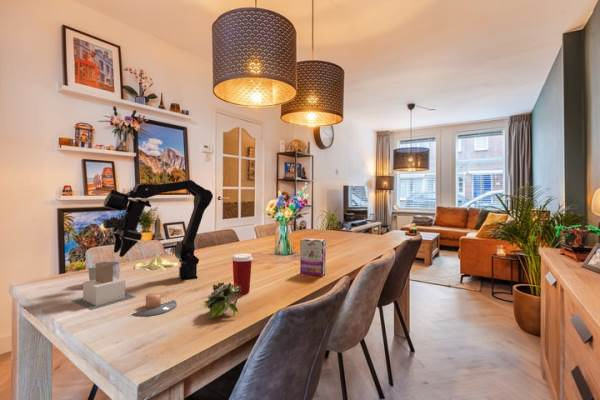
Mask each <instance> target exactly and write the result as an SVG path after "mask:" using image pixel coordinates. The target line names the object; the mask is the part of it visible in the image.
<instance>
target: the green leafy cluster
mask: <svg viewBox="0 0 600 400" xmlns="http://www.w3.org/2000/svg"><path fill="white" fill-rule="evenodd" d="M235 289H236V290H234V283H233V284H232V282H229V283H228V284H227V283H226V284H225V282H217V284H213V285H212V290H213V292H211V293H210V294H209V295H208V296H207V300H205V301H204V304H205V305H206V308H207V309H209V311H208V315H207V317H208V320H211V319H214V318H215V317H220V316H222V315H223V314H224V313H225V312H226V311H227V310H228V308H229V309H230V310H231V311H233V317H235V315H236V312H237V313H238V311H239V310H238V308H237V302H238V299H239V297H240V295H239V294H240V292H241V290H242V289H241V286H240V288H239V286H238V287H236V288H235ZM238 292H239V294H238V295H237V296H236V299H235V301H234V302H231V301H230V298H233V297H234V295H235V293H238Z"/></svg>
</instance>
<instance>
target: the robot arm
mask: <svg viewBox="0 0 600 400" xmlns="http://www.w3.org/2000/svg"><path fill="white" fill-rule="evenodd" d="M183 190H184V191H185V190H186V191H187V192H188V193H189V194H190V195H191V196H193V209H192V213H191V214H190V215H191V216H190V217H189V218H190V219H189V221H188V223H187V227H186V231H185V233H184V237H183V238H182V240H181V241H176V245H175V248H174V249H173V251H174V257H175V258H176V259H178V261H179V263H180V265H179V267H178V277H179V278H180V280H182V281H184V280H192V279H198V274H197V273H198V272H197V271H198V270H197V268H198V267H197V266H198V264H199V262H200V259H199V258H198V257H197V256H196V255H195V249H196V248H195V240H196V239H197V234H198V231H199V228H200V225H201V222H202V219H203V217H204V214H205V211H206V209H207V208H208V206H210V204H211V202H212V200H213V198H214V194H213V192H212V191H211V190H210V189H205V188H204V187H203V186H201V185H199V184H198V183H196V182H195V181H194V180H192V179H185V180H181V181H174V182H166V183H137V184H134V186H133V187H132V190H130V191H128V192H126V193H123V192H121V191H120V192H119V191H118V190H115V189H110V191H109V193H108V194H107V196H106V197H105V199H104V202H103V207H104V208H108V209H111V210H115V211H119V212H121V211H122V210H125V212H124V214H121V216H120V218H117V217H116V216H114V217H113V216H112V217H110V218H104V219H103V220H102V221H103V222H102V223H103V225H102V226H103V227H102V228H104V229H105V230H106V229H107V230H110V229H111V234H112V235H113V237H114V243H113V244H114V246H113V253H115V254H117V253H119V255H118V256H119V257H120V258H123V257H124V256H125V255H126V254H127V253H128V252H129V251H130V250H131V249H132V248H133V247H134V246H135V245H136V244H137V243H139V241H141V239H142V237H143V235H142V233H141V232H140V231H138V230H137V229H138V226H139V223H141V222H142V219H141V218H142V215H143V212H144V210H145V208H146V207H148V208H152V204H151V203H150V200H148V199H149V198H152V197H155V196H157V195H160V194H164V193H165V194H166V193H171V192H176V191H183ZM133 199H135V200H133ZM142 199H147V200H142Z"/></svg>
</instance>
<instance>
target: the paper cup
mask: <svg viewBox="0 0 600 400" xmlns="http://www.w3.org/2000/svg"><path fill="white" fill-rule="evenodd" d="M252 260H253V256H252V254H250V253H249V254H248V253H236V254H234V255H233V256H232V258H231V261H232V271H233V273H232V275H233V280H232V281H233V285H234V288H233V289H234V290H236V289H235V288H236V287H238V286H239V288H240V286H241V289H242V290H241V292H240V294H239V292H238V293H234V295H237V296H238V294H239V296H245V295H248V294H250V288H251V286H250V285H251V278H252V277H251V276H252V275H251V274H252V263H253V262H252Z"/></svg>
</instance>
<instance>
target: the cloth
mask: <svg viewBox="0 0 600 400" xmlns="http://www.w3.org/2000/svg"><path fill="white" fill-rule="evenodd" d="M178 265H179V263H178V262H171V261H169V260H167V259H163V257H161V256H160V255H159V254H156V255H155V256H154V258H153V259H152V260H150V262H141V263H136V264H135V265H134V267H133V269H134V270H140V269H143V270H144V271H151V270H152V271H153V270H154V271H166V270H167V268H168V267H169V268H174V267H177V266H178ZM149 268H150V269H149Z"/></svg>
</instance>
